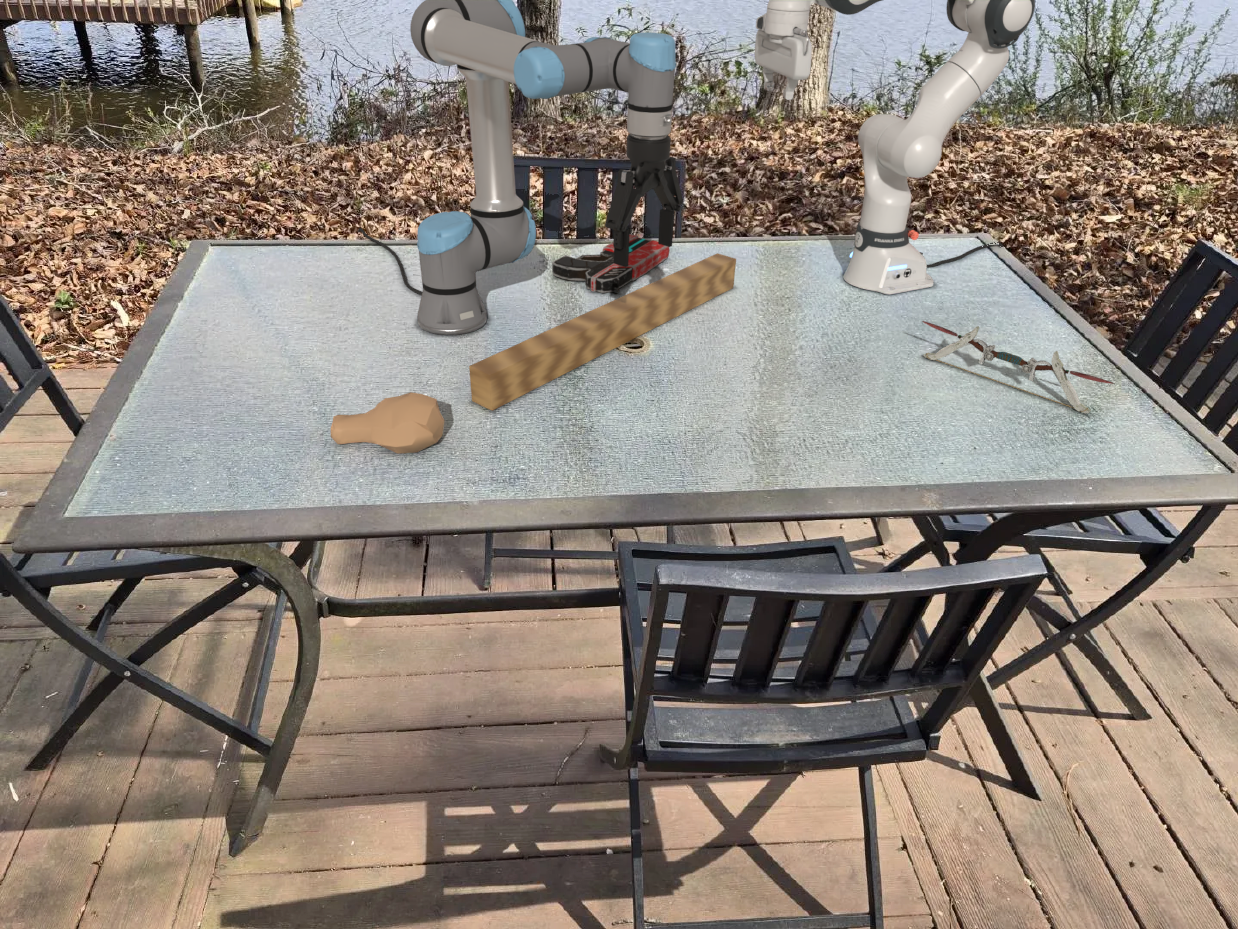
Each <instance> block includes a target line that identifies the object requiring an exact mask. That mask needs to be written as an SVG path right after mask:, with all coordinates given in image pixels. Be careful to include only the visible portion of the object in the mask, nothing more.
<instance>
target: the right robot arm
mask: <svg viewBox="0 0 1238 929" xmlns="http://www.w3.org/2000/svg"><path fill="white" fill-rule="evenodd" d="M879 2H883V0H768V2H767V6H766V12H765V13H764V14H762V15H760V16H758V17H757V18H756V19H755V20H756V21H755V29H757V31H756V35H755V41H754V61H755V64H756V65H757V66H760V67H762V76H763V81H764V82H763V89H764V90H765V91H767V92H774V89H775V81H774V73H776V74H779V75H781V76H784V77H786V82H785V83H786V87H785V89H783V91H782V99H784V100H787V101H791V100H793V99H794V93H795V90H796V88H797V86H798V84H799V81H802V80H803V81H804V80H808V79H809V76H810V75H811V68H812V56H813V55H812V54H813V47H812V45H813V44H812V41H811V40H810V37H809V35H808V34H809V33H808V26H809V18H810V11H811V6H812V5H813V4H816V5H818V6H821V7H824V8H826V9H830V10H834V11H835V12H838V13H840V14H842V15H846V16H847V15H848V16H850V15H856V14H859V13H861V12H862V11H864V10H866V9H867V8H869V7H871V6H872V5H874V4H877V3H879ZM1035 9H1036V1H1035V0H946V17H947V20H948V21H949V23H950V25H952V26H953V27H954V28H956V29H957V30H959V31H961V32H966V33H967V35H966V38H965V40H964V42H963V43H962V45H961V47H960V48H959V50H958V51H957V52H956V53H954V54H953V55H952V56H951V57H950V58H949V59H948V60H947V61H946V62H945V63H944V64H942V66H941V67H940V68H939V69H938V70H937V71H936V72H935V73H934V74H933V75H932V76H931V77H930V78H929V79H928V80H927V81H926V83H925V84H923V85H922V87H921V88H920V90H919V92H918V102H917V105H916V107H914V110H913V111H912V113H911V114H910V115H909V116H908V117H907V118H905V119H904V118H901V117H900V116H897V115H894V114H888V113H879V114H873V115H872V116H870V117H868V118H867V119H866V120H865V121H864V122H863V124H861V127H860V128H859V131H858V133H857V134H858V135H857V143H858V147H859V148H860V151H861V155H862V162H863V174H864V176H863V177H864V191H863V192H864V194H863V199H862V207H861V213H860V219H859V222H858V223H857V226H856V231H855V235H854V243H853V250H852V252H851V253H850V254H849V258H850V259H849V263H848V265H847V267H846V270H845V272H844V274H843V276H842V278H843V280H844V281H845V282H846V283H847V284H849V285H851V286H853V287H855V288H859V289H862V290H866V291H872V292H878V293H879V294H884V295H895V294H900V293H906V292H911V291H916V290H917V291H918V290H922V289H927V288H932V287H934V279H933V278H932V276H931V275H929V274H928V272H927V269H928V268H934V267H937V266H940V265H945V264H948V263H952V262H956V261H958V260H959V261H960V260H962V259H964V258H965V257H967V256H969V255H971V254H973V253H975V252H978V251H980V250H983V249H987V248H990V247H991V248H992V247H993V246H995V245H989V243H990V244H993V242H994V243H995V242H997V243H999V245H997V246H998V247H999V246H1001V247H1003V248H1004V245H1003V243H1001V242H999V241H993V242H989V243H987V245H988V246H987V245H986V244H983V245H979V246H977V247H974V248H972V249H970V250H968V251H966V252H964V253H962V254H961V255H958V256H954V257H951V258H947V259H943V260H939V261H937V262H934V263H929V264H928V263H927V260H926V257H925V256H924V253H923V252H921V251H919V250H918V249H917V248H916V247H915V246H914V245H912V243H911V242H910V239H911V240H912V241H917V239H919V237H920V234H919V232H918V231H916V230H915V229H910V228H909V227H907V222H908V219H909V218H908V217H909V214H910V207H911V203H912V193H911V189H910V187H909V183H908V178H913V179H921V178H924V177H927V176H928V175H930V174H931V173H932V172H934V170H935V169H936V168H937V167H938V165H939V163H940V161H941V158H942V152H943V149H942V147H943V143H944V141H945V139H946V137H947V135H948V134H949V133H950V131H951V129H952V127H953V126H954V125H955V123H956V122H957V121H958V120H959V119H961V117H962V116H963V115H964V114H965V113H966V112H967V111H968V110H969V109H970V108H971V107H972V105H973V104H974V103H975V102H977V100H978V99H980V97H981V96H982V95H984V94H985V92H986V91H987V90H988V89H989V88H990V87H991V86H992V84H994V82H995V81H996V80H997V78H998V77H999V76H1000V74H1001V73H1002V71H1003V70H1004V69H1005V67H1006V66H1007V65H1008V63H1009V59H1010V51H1009V47H1011V46H1012V45H1014V44H1015V43H1017V41H1018V40H1019V39H1020V36H1021V35H1022V34H1023V33H1024V32H1025V31H1026V30H1027V28H1028V26H1029V25H1030V23H1031V21H1032V19H1033V16H1034V13H1035ZM995 244H996V243H995ZM982 246H983V247H982ZM1001 247H1000V248H1001Z"/></svg>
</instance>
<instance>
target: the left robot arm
mask: <svg viewBox="0 0 1238 929" xmlns="http://www.w3.org/2000/svg"><path fill="white" fill-rule="evenodd" d="M409 30H410V32H409V33H410V37H411V41H412V44H413V46H414V47H415V49H416V51H417V52H418V53H419V54H420V55H421V56H422V57H423V58H424V59H426V60H428V61H430V62H432V63H434V64H437V65H440V66H443V67H452V66H455V65H456V68H457V70H458V72H460V74H462V75H463V76H464V77H465V83H466V96H467V97H466V98H467V108H468V119H469V129H470V131H469V132H470V141H471V142H470V143H471V152H472V163H473V164H472V165H473V174H474V175H473V176H474V186H475V197H474V198H473V199H472V200H471V202H469V203H470V204H469V208H470V215H469V214H468V213H466V212H464V211H458V210H453V211H452V210H451V211H449V212H448V211H443V212H438V213H434V214H432V215H429V216H427V217H426V218H424V219H423V220H422V221H421V222H420V224H419V225H418V227H417V230H416V231H417V232H416V233H417V238H416V239H417V242H416V246H417V250H418V258H419V267H420V275H421V276H420V278H421V284H422V291H421V290H419V289H416V288H415V287H413V286H411V285H410V284H409V282H408V279H407V276H406V273H405V270H404V267H403V264H402V261H401V260H400V258H399V256H398V255H397V253H396V252H395V251H394V250H393V249H392V248H391V247H389V246H388V245H386V244H385V243H384V242H382V241H380V240H378V239H375V238H374V237H372V236H370V235H369V234H367V232H365V230H364V229H363V228H362V227H359V228H358V230H357V233H361V234H362V235H363V237H365V238H366V239H367V240H369V241H370V242H373V243H375V244H377V245H379V246H381V247H383V248H384V249H385V250H387V251H388V252H389V253H390V254H391V255H392V256H393V257H394V259H395V261H396V263H397V265H398V267H399V271H400V274H401V277H402V281H403V283H404V286H405V287H406V289H408V290H410V291H411V292H413V293H415V294H418V295H420V296H421V297H420V302H419V305H418V310H417V317H416V318H417V325H418V326H419V328H420V329H421V330H423V331H424V332H427V333H430V334H433V335H440V336H459V335H465V334H469V333H473V332H476V331H477V330H480V329H481V328H483V327H484V326H485V325H486V323H487V320H488V316H487V310H486V306H485V304H484V302H483V299H482V298H481V295H480V293H479V291H478V288H477V278H476V277H477V276H476V273H477V272H479V271H480V272H481V271H485V270H488V269H492V268H494V267H495V268H496V267H498V266H503V265H506V264H513V263H516V262H518V261H519V260H522V259H525V258H526V257H528V256H529V254H531V252H532V251H533V249H534V247H535V244H536V239H537V226H536V223H535V222H536V221H535V220H534V219H533V214H532V213H531V211H530V210H529V209H528V208H527V207H526V206H524V201H523V200H522V199H521V197H519V196H518V195H517V193H516V178H515V163H514V162H515V160H514V144H513V133H512V132H513V131H512V130H513V129H512V117H511V101H510V87H509V86H510V84H514V85H516V87H517V89H518V90H519V91H520V92H521V93H522V95H523V96H524V97H525V98H527V99H530V100H537V99H541V100H549V99H551V98H552V99H553V98H556V97H562V96H568V95H574V94H581V93H588V92H589V93H590V92H594V91H600V90H615V91H620V92H623V93H628V94H627V116H626V131H627V133H629V134H628V135H627V136H626V152H625V153H626V157H627V158H628V159H629V161H630V168H629V170H626V169H619V170H618V172H617V181H616V185H615V189H614V193H613V195H612V199H611V202H610V206H609V210H608V213H607V216H606V219H605V222H604V223H605V224H604V226H605V228H607V229H611V230H613V246H614V264H617V265H621V266H624V267H627V266H628V261H629V234H630V229H627V228H628V226H629V224H630V222H631V220H632V218H633V216H634V214H635V211H636V209H637V207H638V205H639V203H640V201H641V198H643V197H645V195H646V193H648V192H650V191H651V190H653V191H654V193H655V195H656V197H657V199H658V201H659V202H660V204H661V205H662V207H663V208H660V209H659V221H658V240H657V241H658V244H661V245H664V246H668V247H669V248H671V247H673V238H674V236H673V235H674V225H675V213H676V212H677V213H678V212H680V211H681V207H682V206H681V205H683V203H684V198H683V195H682V189H681V186H680V183H679V177H678V174H677V169H676V166H677V165H676V163H677V162H676V157H673V156H671V142H672V138H671V137H670V134H671V132H672V122H673V120H672V118H673V117H672V116H673V106H674V104H673V102H674V100H673V99H674V87H675V74H676V68H677V61H676V41H675V38H674V37H673V36H671V35H670V34H667V33H663V32H660V33H658V32H651V31H650V32H636V33H633V34H632V35H631V37H630V38H629V42H626V41H621V40H616V39H614V38H610V37H607V36H603V37H602V36H601V37H598V36H590V37H588V38H587V39H586V40H584V41H583V42H578V43H569V44H559V45H558V44H557V45H556V44H555V45H554V44H549V43H547V42H546V43H545V42H542V41H539V40H536V39H533V38H529V37H526V28H525V22H524V19H523V17H522V14H521V11H520V10H519V8H518V6H516V3H515V2H514V0H423V1H422V2H421V3H420V4H419V5H418V6H417V7H416V9H415V10H414V11H413V14H412V17H411V21H410V28H409ZM509 83H510V84H509ZM379 241H380V242H379Z"/></svg>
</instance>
